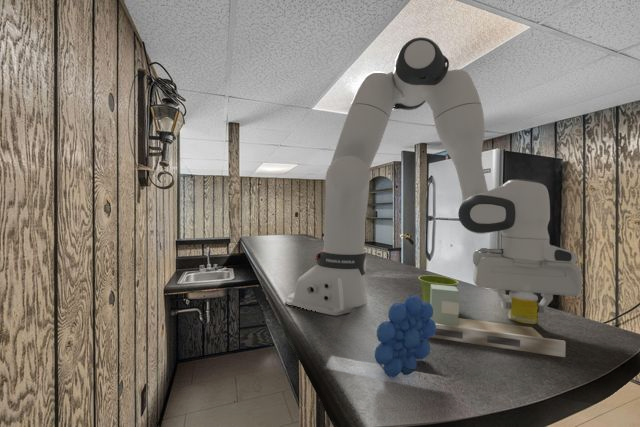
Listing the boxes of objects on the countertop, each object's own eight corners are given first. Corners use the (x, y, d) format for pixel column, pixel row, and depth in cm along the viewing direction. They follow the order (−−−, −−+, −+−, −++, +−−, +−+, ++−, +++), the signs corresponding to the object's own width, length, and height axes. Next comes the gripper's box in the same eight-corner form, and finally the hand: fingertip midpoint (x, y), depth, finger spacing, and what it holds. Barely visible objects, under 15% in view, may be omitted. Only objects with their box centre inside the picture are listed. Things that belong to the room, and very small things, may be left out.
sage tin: (458, 331, 56) (459, 291, 56) (431, 327, 57) (432, 288, 57) (455, 323, 59) (455, 286, 59) (429, 320, 61) (430, 284, 61)
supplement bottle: (542, 331, 60) (543, 286, 60) (515, 329, 61) (516, 284, 61) (529, 322, 65) (530, 280, 65) (503, 320, 66) (504, 279, 67)
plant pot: (456, 311, 72) (457, 277, 72) (458, 323, 63) (459, 285, 64) (419, 305, 76) (419, 273, 76) (415, 316, 67) (416, 281, 67)
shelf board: (424, 344, 53) (425, 323, 53) (421, 319, 65) (421, 302, 65) (565, 366, 46) (565, 342, 46) (531, 334, 59) (532, 315, 59)
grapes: (413, 353, 49) (415, 285, 49) (445, 373, 43) (447, 296, 43) (358, 367, 44) (360, 292, 44) (386, 392, 38) (388, 305, 38)
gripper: (476, 248, 64) (475, 309, 63) (587, 255, 57) (585, 321, 57) (470, 246, 70) (469, 301, 69) (570, 251, 63) (568, 311, 63)
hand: (522, 310), depth 63 cm, fingers closed on supplement bottle, 5 cm apart
